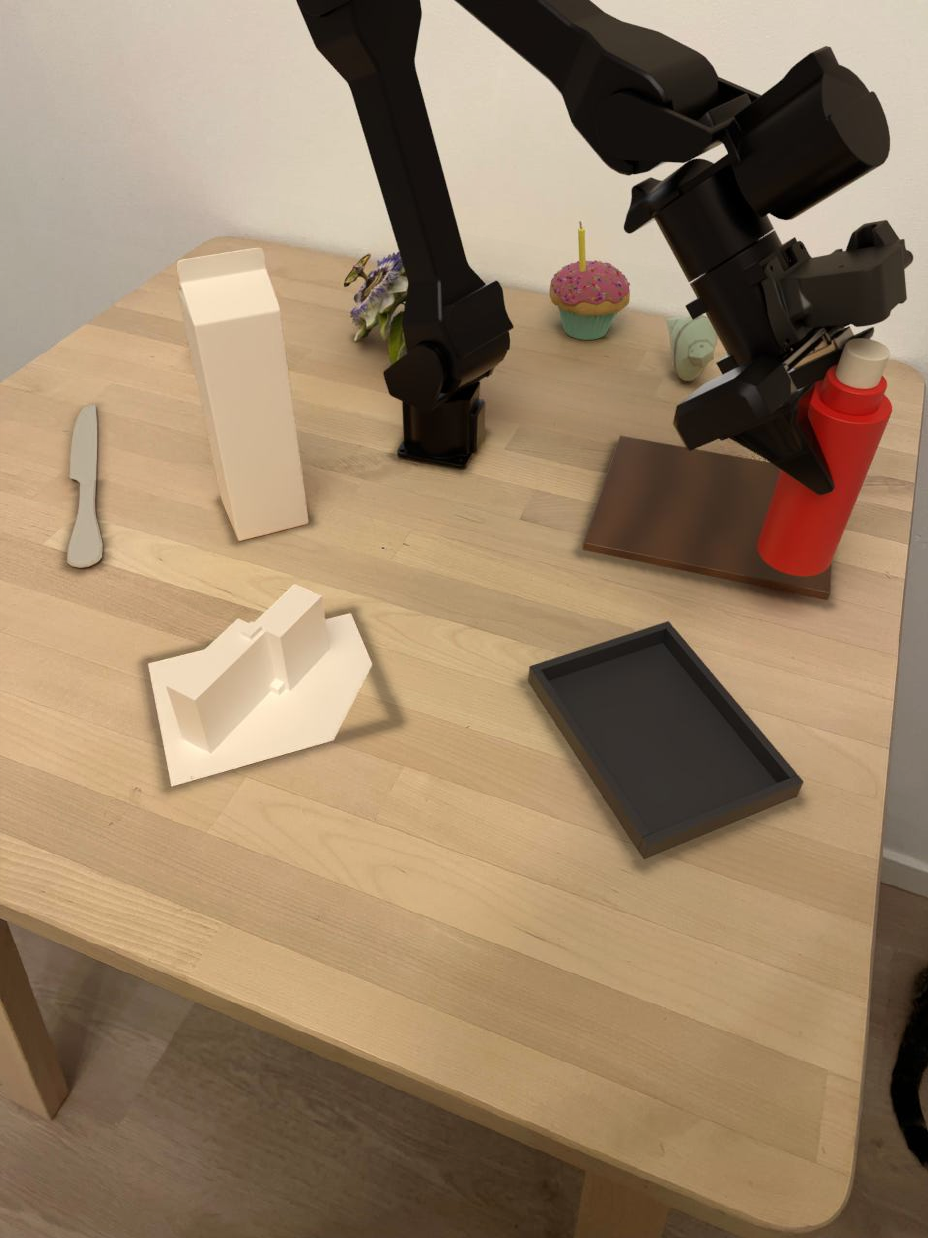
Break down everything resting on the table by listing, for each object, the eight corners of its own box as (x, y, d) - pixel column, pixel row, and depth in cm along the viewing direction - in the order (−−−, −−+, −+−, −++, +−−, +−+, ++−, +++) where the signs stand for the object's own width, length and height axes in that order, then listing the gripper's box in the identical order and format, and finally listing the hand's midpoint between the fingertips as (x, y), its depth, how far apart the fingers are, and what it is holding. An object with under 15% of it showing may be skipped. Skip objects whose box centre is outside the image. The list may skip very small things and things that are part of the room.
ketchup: (774, 580, 65) (846, 373, 53) (745, 532, 68) (808, 329, 57) (843, 573, 65) (930, 368, 54) (812, 526, 69) (887, 324, 58)
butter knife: (62, 567, 72) (101, 561, 73) (73, 404, 89) (105, 400, 89) (63, 571, 72) (102, 565, 73) (74, 408, 89) (106, 404, 89)
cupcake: (572, 355, 98) (584, 241, 89) (531, 320, 103) (539, 209, 95) (640, 337, 101) (657, 225, 92) (596, 304, 106) (609, 196, 97)
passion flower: (368, 384, 103) (340, 273, 101) (464, 361, 103) (438, 249, 101) (360, 376, 92) (329, 251, 90) (467, 350, 92) (438, 225, 90)
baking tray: (527, 685, 65) (529, 665, 64) (664, 640, 68) (668, 620, 67) (642, 863, 55) (647, 845, 54) (795, 800, 58) (804, 781, 57)
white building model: (172, 789, 58) (151, 731, 54) (145, 664, 66) (126, 605, 62) (399, 721, 62) (395, 663, 58) (350, 611, 70) (344, 553, 66)
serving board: (581, 554, 75) (583, 542, 74) (618, 446, 86) (619, 435, 85) (825, 604, 71) (830, 593, 70) (831, 484, 82) (835, 473, 81)
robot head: (652, 362, 97) (662, 300, 92) (688, 357, 98) (700, 295, 93) (685, 402, 91) (698, 338, 87) (723, 396, 92) (738, 333, 87)
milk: (309, 524, 77) (277, 265, 62) (237, 542, 75) (185, 280, 60) (289, 483, 81) (253, 229, 66) (219, 499, 79) (166, 242, 64)
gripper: (771, 238, 46) (909, 507, 49) (910, 142, 56) (1017, 369, 59) (614, 333, 55) (739, 555, 58) (759, 235, 65) (859, 428, 68)
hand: (845, 473), depth 61 cm, fingers closed on ketchup, 5 cm apart
